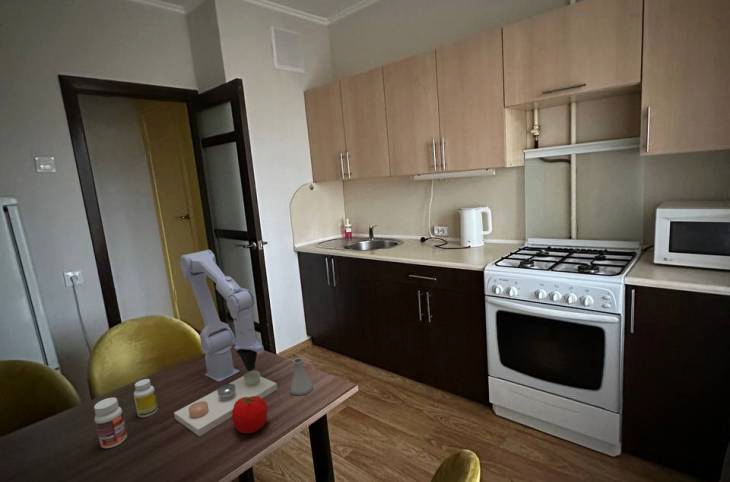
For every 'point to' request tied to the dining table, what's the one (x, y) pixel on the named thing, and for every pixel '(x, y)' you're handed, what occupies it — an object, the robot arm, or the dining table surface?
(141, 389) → the supplement bottle
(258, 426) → the tomato
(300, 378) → the flask
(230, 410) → the control panel
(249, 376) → the sage button
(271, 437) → the dining table surface
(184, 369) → the dining table surface
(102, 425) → the pill bottle
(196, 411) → the terracotta button
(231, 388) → the grey button
